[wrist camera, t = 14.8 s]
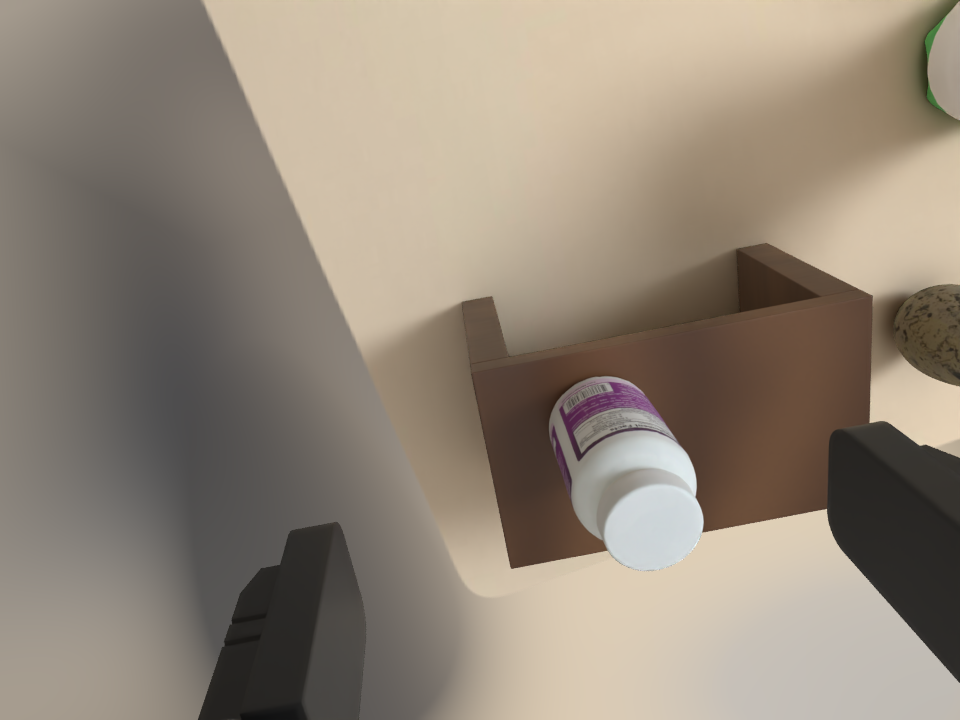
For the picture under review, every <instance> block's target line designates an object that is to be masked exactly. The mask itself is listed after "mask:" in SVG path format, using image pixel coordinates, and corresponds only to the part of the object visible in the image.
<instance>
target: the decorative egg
mask: <svg viewBox="0 0 960 720" xmlns="http://www.w3.org/2000/svg"><path fill="white" fill-rule="evenodd" d="M893 330H894V339H895V342H896V345H897V347H898V349H899V351H900V353H901V354H902V355H903V357H904V358H905V359H906V360H907V361H908V362H909V363H910V364H911V365H912V366H913V367H915V368H916V369H918V370H919V371H921V372H922V373H924V374H926V375H928V376H930V377H932V378H934V379H937V380H939V381H942V382H945V383H948V384H952V385H956V386H960V285H953V284H947V285H937V286H933V287H929V288H926V289H924V290H921V291H919V292H917V293H916V294H914V295H913V296H911V297H910V298H909V299H908V300H906V301H905V303H904V304H903V305H902V306H901V307H900V309H899V311H898V313H897V315H896V317H895V321H894V328H893Z"/></svg>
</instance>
